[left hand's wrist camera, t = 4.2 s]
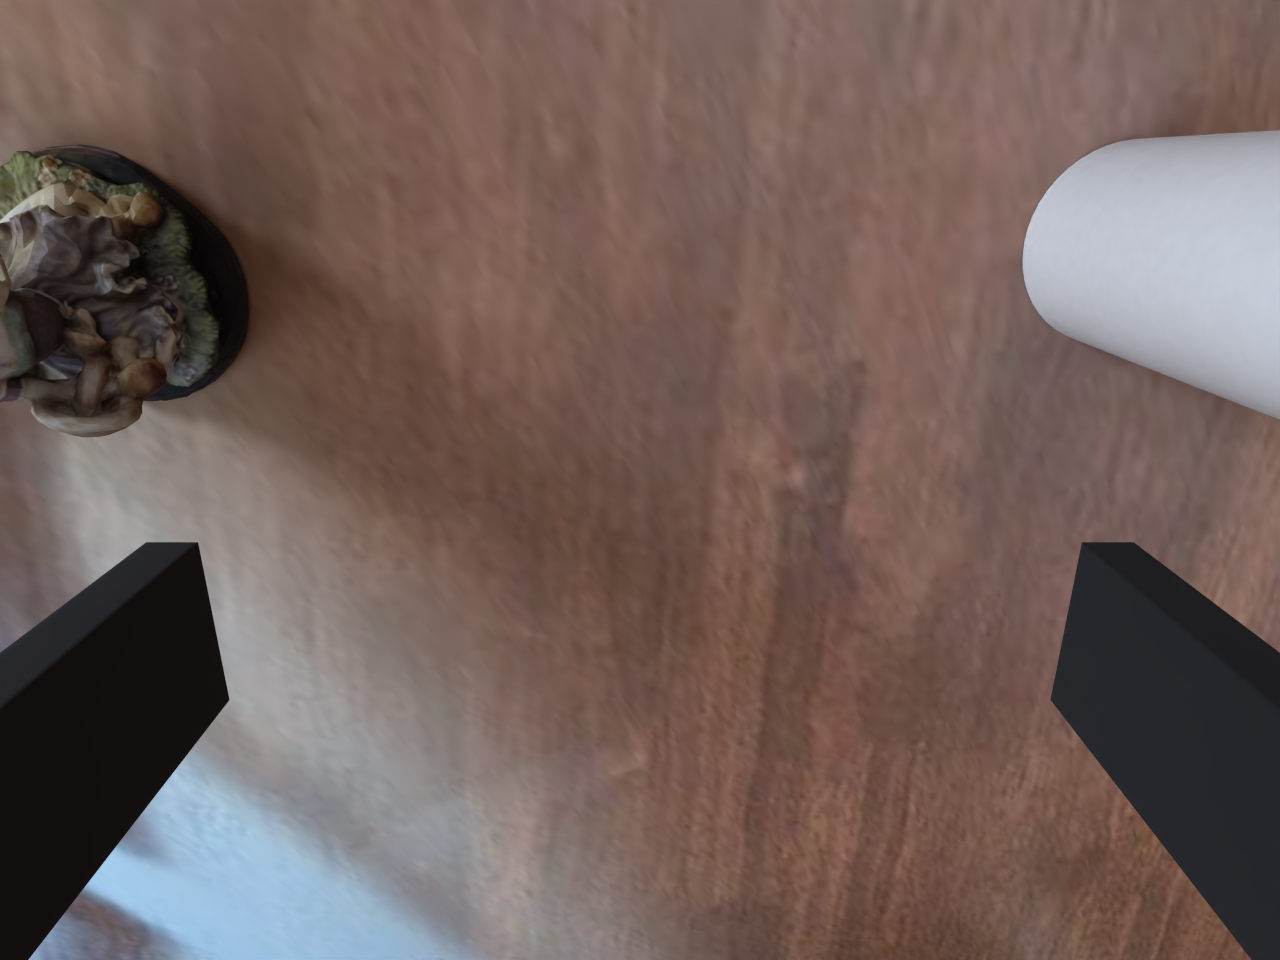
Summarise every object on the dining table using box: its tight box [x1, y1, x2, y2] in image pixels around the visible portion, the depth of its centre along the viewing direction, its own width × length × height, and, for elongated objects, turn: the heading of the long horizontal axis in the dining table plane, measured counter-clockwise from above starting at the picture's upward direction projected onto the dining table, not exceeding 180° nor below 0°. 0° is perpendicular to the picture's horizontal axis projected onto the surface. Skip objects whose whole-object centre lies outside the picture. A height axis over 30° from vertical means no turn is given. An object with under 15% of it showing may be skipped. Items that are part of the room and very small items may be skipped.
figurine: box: [0, 145, 248, 437], centre depth 31 cm, size 12×11×15 cm
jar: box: [1023, 130, 1280, 420], centre depth 29 cm, size 9×9×18 cm
